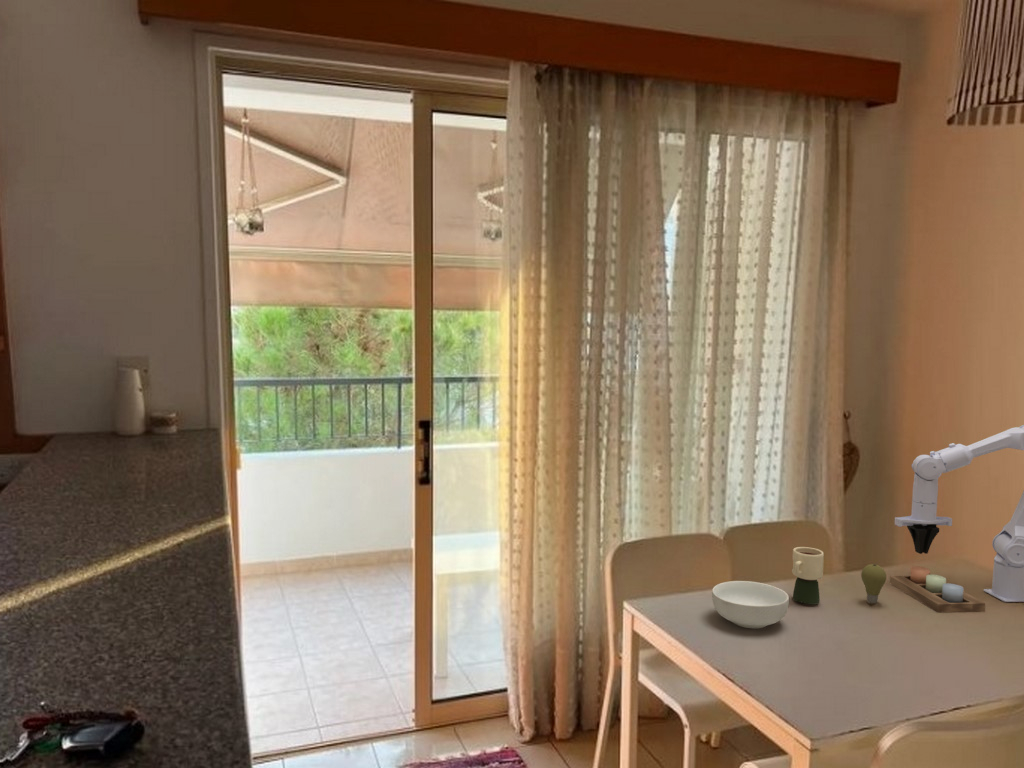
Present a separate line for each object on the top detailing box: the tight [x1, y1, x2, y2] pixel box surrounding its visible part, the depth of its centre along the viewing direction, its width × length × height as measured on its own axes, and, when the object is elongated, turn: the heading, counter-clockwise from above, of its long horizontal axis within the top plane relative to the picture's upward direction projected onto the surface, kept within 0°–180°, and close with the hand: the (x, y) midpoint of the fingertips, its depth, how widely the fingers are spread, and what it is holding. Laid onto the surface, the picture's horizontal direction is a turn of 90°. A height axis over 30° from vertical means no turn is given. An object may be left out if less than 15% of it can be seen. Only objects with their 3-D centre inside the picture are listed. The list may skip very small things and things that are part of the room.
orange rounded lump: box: [909, 565, 931, 584], centre depth 200 cm, size 4×4×4 cm
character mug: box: [791, 546, 825, 605], centre depth 188 cm, size 11×7×13 cm, turn 129°
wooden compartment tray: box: [889, 575, 986, 613], centre depth 193 cm, size 12×20×2 cm, turn 5°
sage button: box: [926, 574, 947, 593], centre depth 193 cm, size 4×4×4 cm
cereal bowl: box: [711, 580, 790, 629], centre depth 176 cm, size 17×17×7 cm
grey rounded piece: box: [942, 582, 964, 603], centre depth 187 cm, size 4×4×4 cm
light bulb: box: [860, 563, 887, 606], centre depth 188 cm, size 6×6×10 cm
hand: (921, 552), depth 199 cm, fingers closed
